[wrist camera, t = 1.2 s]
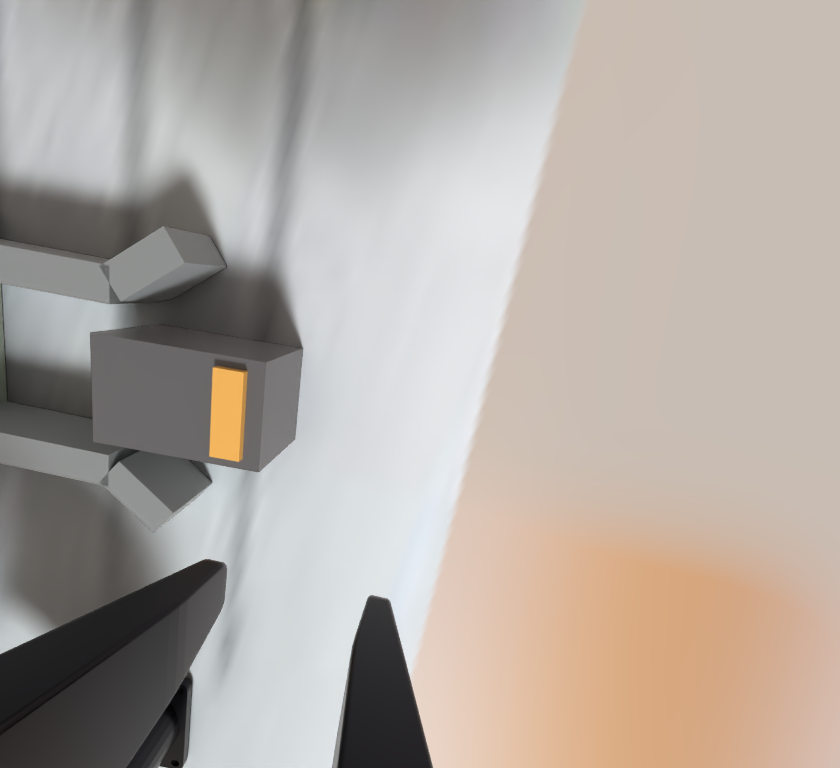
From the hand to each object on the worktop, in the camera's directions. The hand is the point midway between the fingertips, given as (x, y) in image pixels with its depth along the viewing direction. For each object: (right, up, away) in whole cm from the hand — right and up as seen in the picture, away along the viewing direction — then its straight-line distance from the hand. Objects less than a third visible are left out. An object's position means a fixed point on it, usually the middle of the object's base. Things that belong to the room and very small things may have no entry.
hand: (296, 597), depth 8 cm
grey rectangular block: (-7, +4, +12) cm, 15 cm away
